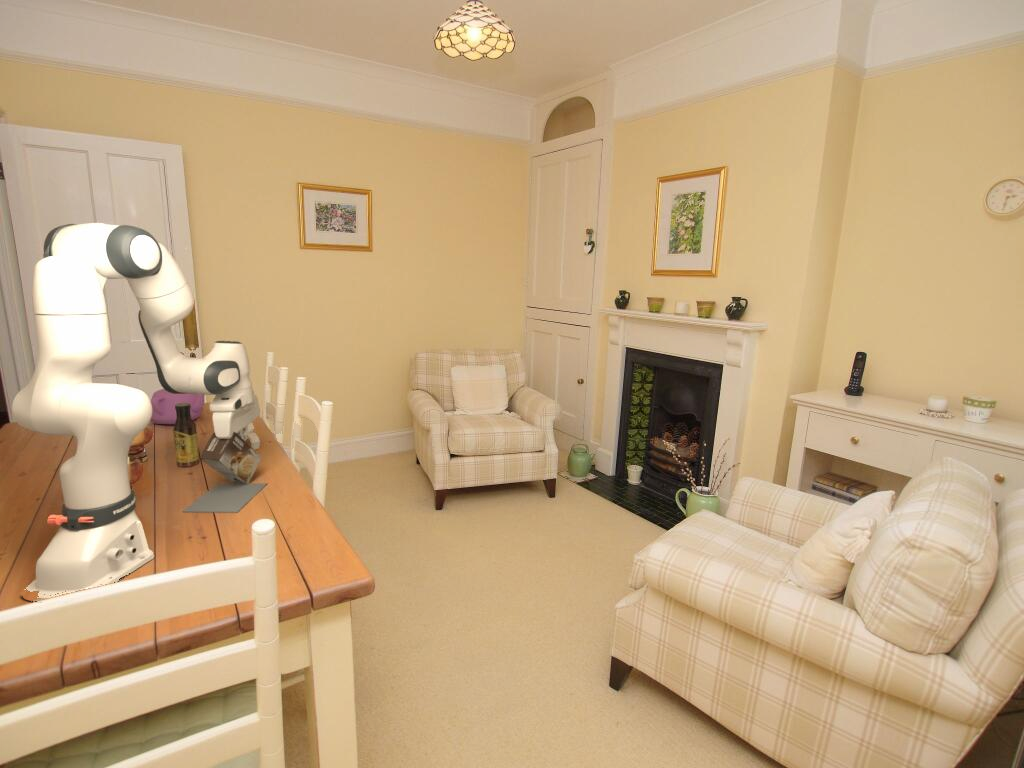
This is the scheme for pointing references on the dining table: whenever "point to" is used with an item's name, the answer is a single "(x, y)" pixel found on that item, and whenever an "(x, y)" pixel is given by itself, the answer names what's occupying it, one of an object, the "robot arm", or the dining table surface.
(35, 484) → the dining table surface
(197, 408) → the teapot
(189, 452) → the sauce bottle
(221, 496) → the mat
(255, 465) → the coffee box
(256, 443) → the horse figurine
